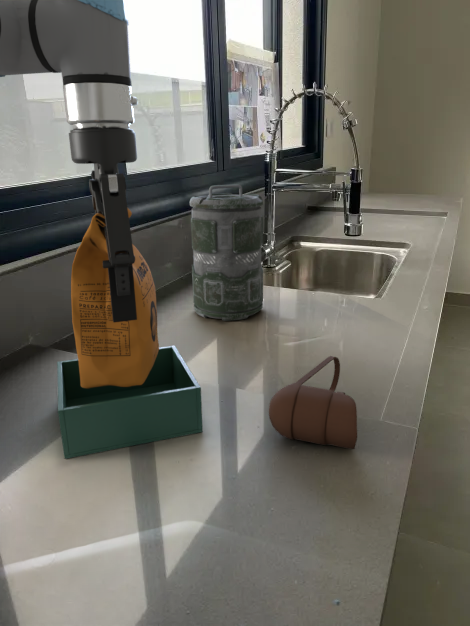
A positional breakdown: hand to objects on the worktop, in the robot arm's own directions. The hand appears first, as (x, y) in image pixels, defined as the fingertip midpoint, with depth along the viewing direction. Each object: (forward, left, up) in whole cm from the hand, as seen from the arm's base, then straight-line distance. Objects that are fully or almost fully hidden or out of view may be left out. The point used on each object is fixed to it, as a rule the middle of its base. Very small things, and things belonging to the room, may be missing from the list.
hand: (118, 305), depth 64 cm
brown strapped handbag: (+25, -10, -16) cm, 31 cm away
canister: (+28, +40, -16) cm, 51 cm away
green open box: (0, 0, -16) cm, 16 cm away
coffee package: (0, 0, -10) cm, 10 cm away
